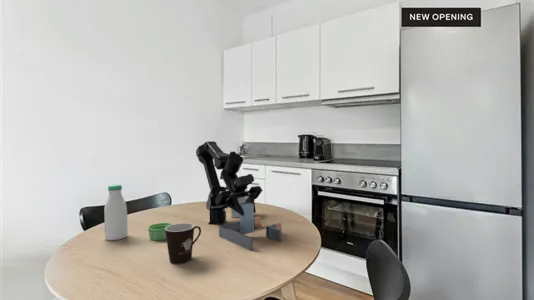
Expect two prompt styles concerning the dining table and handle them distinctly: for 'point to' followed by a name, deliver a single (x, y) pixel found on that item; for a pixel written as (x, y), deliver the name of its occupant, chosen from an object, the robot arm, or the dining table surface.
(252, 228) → the slate peg
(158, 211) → the dining table surface
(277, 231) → the bent channel
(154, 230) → the ramekin
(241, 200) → the supplement box
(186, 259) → the coffee mug
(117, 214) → the milk bottle
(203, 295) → the dining table surface
